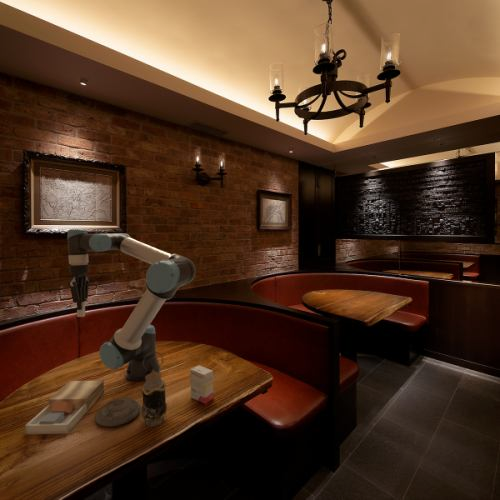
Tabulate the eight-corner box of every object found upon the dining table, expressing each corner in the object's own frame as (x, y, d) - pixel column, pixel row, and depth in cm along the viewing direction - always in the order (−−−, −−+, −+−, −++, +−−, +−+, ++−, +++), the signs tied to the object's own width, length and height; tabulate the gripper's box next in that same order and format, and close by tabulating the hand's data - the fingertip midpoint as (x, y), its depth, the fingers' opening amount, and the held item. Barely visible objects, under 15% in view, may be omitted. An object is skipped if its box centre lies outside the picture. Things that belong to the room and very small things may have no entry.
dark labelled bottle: (143, 431, 96) (140, 359, 94) (140, 417, 103) (138, 350, 101) (169, 422, 100) (167, 353, 98) (165, 410, 107) (163, 345, 105)
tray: (86, 411, 106) (86, 403, 106) (67, 433, 95) (67, 424, 95) (49, 412, 106) (48, 404, 106) (25, 434, 95) (24, 425, 95)
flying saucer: (111, 436, 94) (110, 420, 94) (87, 420, 102) (86, 405, 102) (149, 411, 106) (148, 397, 106) (125, 399, 115) (124, 386, 114)
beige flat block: (104, 391, 119) (103, 380, 119) (86, 411, 106) (86, 398, 106) (70, 392, 119) (69, 381, 119) (49, 412, 106) (48, 399, 106)
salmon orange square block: (71, 413, 104) (74, 404, 106) (64, 411, 100) (67, 401, 102) (57, 413, 104) (60, 404, 106) (50, 411, 100) (53, 402, 102)
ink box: (214, 398, 114) (213, 370, 113) (205, 404, 110) (205, 375, 109) (199, 391, 119) (198, 364, 118) (190, 397, 115) (189, 369, 114)
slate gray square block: (54, 421, 95) (54, 429, 96) (64, 411, 100) (64, 419, 101) (39, 421, 96) (39, 429, 96) (50, 411, 100) (50, 419, 101)
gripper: (78, 262, 132) (81, 312, 134) (60, 266, 119) (63, 321, 121) (95, 262, 133) (97, 312, 134) (78, 265, 120) (81, 320, 121)
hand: (81, 316), depth 128 cm, fingers closed
